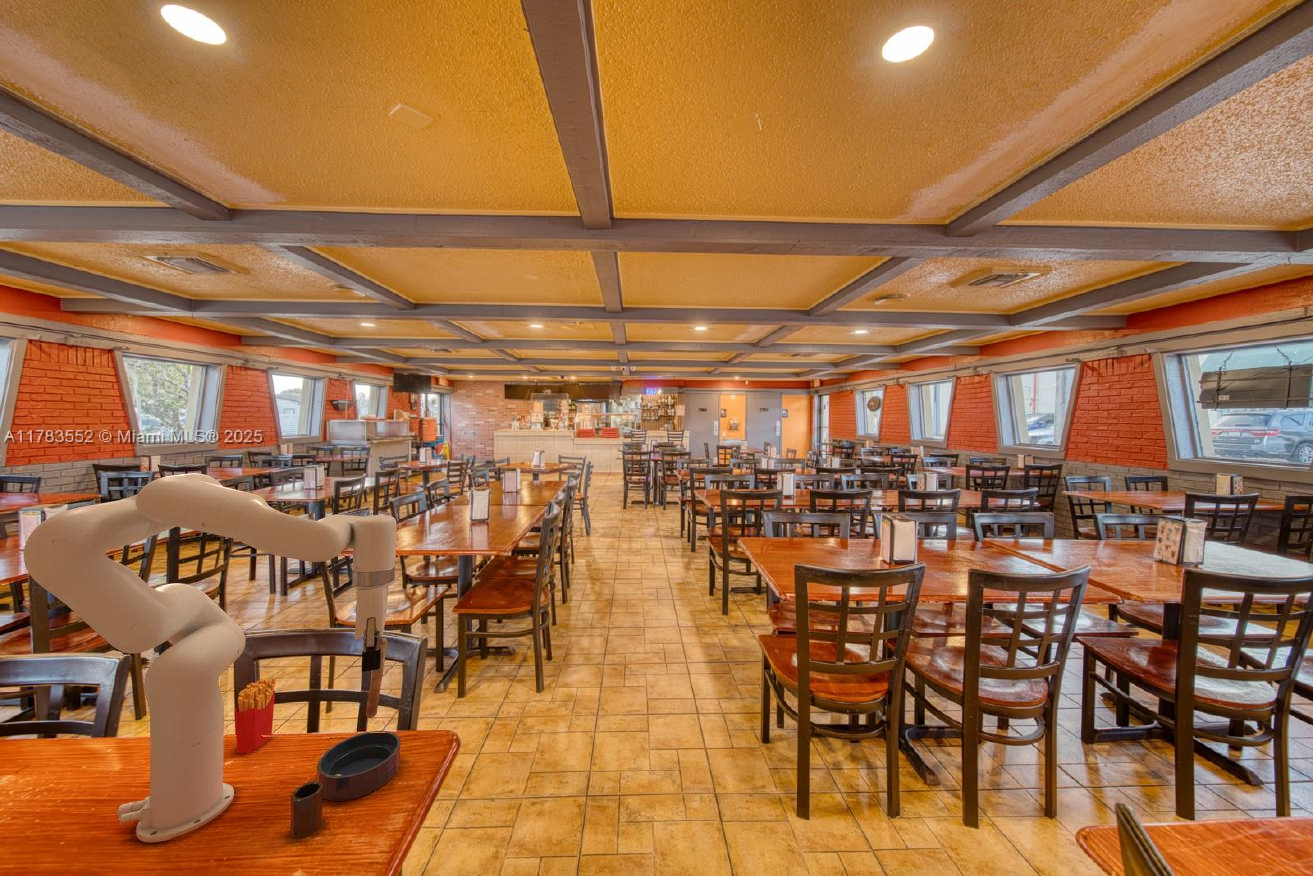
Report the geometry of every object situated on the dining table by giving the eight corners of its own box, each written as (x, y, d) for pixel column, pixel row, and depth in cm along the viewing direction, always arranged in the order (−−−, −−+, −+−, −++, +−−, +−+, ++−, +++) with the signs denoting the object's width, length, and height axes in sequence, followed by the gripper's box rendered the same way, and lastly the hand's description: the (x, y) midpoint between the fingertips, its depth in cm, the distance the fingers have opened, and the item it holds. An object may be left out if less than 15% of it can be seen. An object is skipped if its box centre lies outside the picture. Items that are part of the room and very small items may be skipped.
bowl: (310, 814, 85) (310, 787, 86) (323, 766, 98) (324, 742, 98) (399, 788, 92) (399, 763, 92) (401, 746, 105) (401, 724, 105)
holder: (288, 845, 79) (288, 803, 79) (294, 826, 83) (294, 786, 83) (319, 835, 81) (320, 794, 81) (324, 817, 85) (324, 778, 85)
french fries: (248, 756, 101) (249, 696, 101) (228, 756, 101) (229, 696, 101) (280, 730, 110) (281, 674, 110) (262, 730, 110) (262, 674, 110)
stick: (365, 720, 94) (377, 640, 95) (364, 715, 96) (376, 636, 97) (376, 719, 95) (388, 639, 96) (376, 714, 97) (387, 635, 98)
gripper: (356, 568, 101) (353, 654, 101) (347, 590, 87) (344, 689, 87) (396, 565, 104) (393, 648, 104) (393, 585, 90) (391, 681, 90)
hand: (371, 666), depth 96 cm, fingers closed on stick, 2 cm apart
